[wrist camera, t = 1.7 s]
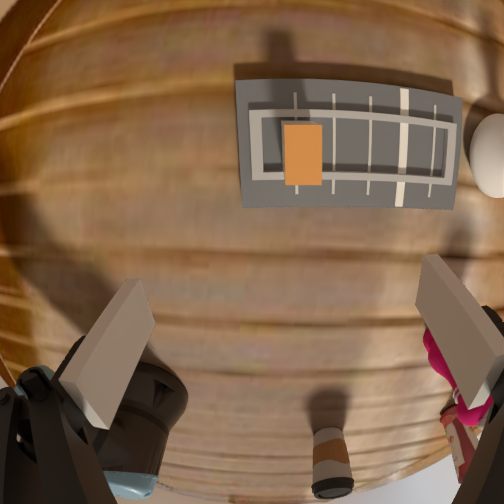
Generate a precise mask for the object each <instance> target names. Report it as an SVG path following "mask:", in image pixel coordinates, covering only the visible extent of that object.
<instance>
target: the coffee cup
mask: <svg viewBox="0 0 504 504" xmlns="http://www.w3.org/2000/svg"><path fill="white" fill-rule="evenodd" d="M353 483H354V479H353V478H352V473H351V468H350V461H349V456H348V452H347V447H346V444H345V440H344V436H343V432H342V431H341V430H340V429H338V428H334V427H329V428H324V429H321V430H319V431H317V432H316V433H315V435H314V444H313V485H312V486H311V488H312V493H314V496H315V498H318V499H335V498H340V497H343V496H346V495H348V494H350V493H351V492H352V488H353V487H354V484H353Z"/></svg>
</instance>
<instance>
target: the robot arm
mask: <svg viewBox="0 0 504 504" xmlns="http://www.w3.org/2000/svg"><path fill="white" fill-rule="evenodd" d="M415 305H416V307H417V309H418V310H419V312H420V314H421V316H422V317H423V319H424V321H425V323H426V325H427V327H428V328H429V330H430V332H431V334H432V336H433V338H434V340H435V342H436V343H437V345H438V347H439V349H440V351H441V353H442V355H443V357H444V359H445V361H446V363H447V365H448V367H449V369H450V371H451V374H452V376H453V378H454V380H455V382H456V384H457V386H458V388H459V391H460V393H461V395H462V397H463V400H464V402H465V404H466V406H467V409H468V410H469V409H472V408H475V407H478V406H481V405H484V403H485V402H486V400H487V399H488V397H489V395H491V397H492V399H493V403H492V404H491V406H490V407H489V409H488V410H487V412H486V413H485V415H484V417H483V419H485V418H486V417H487V419H486V422H485V425H484V428H483V431H482V434H481V437H480V440H479V443H478V445H477V448H476V451H475V453H474V456H473V458H472V461H471V463H470V466H469V468H468V470H467V472H466V475H465V477H464V479H463V481H462V484H461V486H460V488H459V490H458V492H457V494H456V496H455V498H454V500H453V502H452V504H504V322H502V319H501V318H500V317H499V315H498V314H497V313H496V312H495V311H494V310H492V309H491V308H490V307H488V306H487V305H486V306H480V305H479V303H478V302H477V301H476V299H475V298H474V297H473V296H472V294H471V293H470V292H469V291H468V289H467V288H466V287H465V286H464V284H463V283H462V282H461V281H460V280H459V278H458V277H457V276H456V275H455V274H454V272H453V271H452V270H451V269H450V268H449V267H448V265H447V264H446V263H445V262H444V261H443V260H442V259H441V258H440V256H439V255H438V254H430V255H423V261H422V268H421V275H420V281H419V287H418V293H417V298H416V304H415ZM155 325H156V323H155V321H154V318H153V315H152V313H151V310H150V307H149V304H148V301H147V298H146V296H145V293H144V290H143V287H142V284H141V281H140V278H139V279H126V280H125V281H124V283H123V284H122V286H121V287H120V288H119V290H118V291H117V292H116V294H115V295H114V297H113V298H112V299H111V301H110V302H109V304H108V305H107V307H106V308H105V309H104V311H103V312H102V314H101V315H100V317H99V318H98V319H97V321H96V322H95V324H94V325H93V327H92V328H91V330H90V331H89V333H88V334H87V336H82V337H81V338H80V339H79V340H78V341H76V342H75V343H74V345H73V346H72V348H71V349H70V351H69V353H68V354H67V355H66V357H65V360H63V361H62V363H61V364H60V366H59V368H58V369H57V371H56V372H54V371H53V370H51V369H50V368H49V367H47V366H45V365H38V366H36V367H31V368H28V369H27V370H25V371H24V372H23V373H22V374H21V375H20V376H19V378H18V379H17V383H16V387H15V388H14V389H13V388H11V387H5V388H2V389H0V504H117V501H116V500H115V497H114V496H118V497H123V498H129V499H145V498H148V497H149V496H151V494H152V493H153V490H154V487H155V485H156V482H157V480H158V478H159V477H158V474H159V470H160V466H161V462H162V459H163V455H164V451H165V447H166V443H167V439H168V435H169V432H170V430H171V429H172V428H173V426H174V425H175V424H176V422H177V421H178V420H179V418H180V417H181V416H182V414H183V413H184V411H185V409H186V406H187V402H188V394H187V391H186V389H185V387H184V386H183V385H182V383H181V382H180V381H179V380H178V379H176V378H175V377H174V376H172V375H171V374H169V373H168V372H166V371H164V370H162V369H160V368H158V367H155V366H153V365H149V364H146V363H140V362H138V361H139V359H140V357H141V355H142V353H143V350H144V348H145V346H146V344H147V342H148V340H149V337H150V335H151V333H152V331H153V329H154V327H155ZM487 415H488V416H487Z"/></svg>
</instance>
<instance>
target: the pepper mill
mask: <svg viewBox="0 0 504 504" xmlns="http://www.w3.org/2000/svg"><path fill="white" fill-rule="evenodd" d="M423 343H424V345H425V347H426V349H427V351H428V352H429V353H428V360H429V363H430V364H431V366H432V368H433V369H434V370H435V371H436V372H437V373H439V374H440V375H442V376H443V377H445V378H446V379H447V380H448V381H449V383H450V385H451V386H452V388H453V398H454V399H455V403H456V404H458V405H457V408H456V414H457V417H458V419H459V421H460V422H461V423H462V424H464V425H467V426H474V425H477V424H478V428H479V429H480V430H483V428H484V425H485V422H486V419H487V417H486V418H485V419H483V417H484V415H485V413H486V412H487V410H488V409H489V407H490V406H491V404H492V403H493V399H492V397H491V395H489V397H488V399H487V400H486V402H485V403H484V405H481V406H478V407H475V408H472V409H469V410H468V409H467V406H466V404H465V402H464V400H463V397H462V395H461V393H460V391H459V388H458V386H457V384H456V382H455V380H454V378H453V376H452V374H451V371H450V369H449V367H448V365H447V363H446V361H445V359H444V357H443V355H442V353H441V351H440V349H439V347H438V345H437V343H436V342H435V340H434V338H433V336H432V334H431V332H430V330H429V329H428V330H427V332H426V333H425V335H424V339H423ZM487 416H488V415H487Z"/></svg>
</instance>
